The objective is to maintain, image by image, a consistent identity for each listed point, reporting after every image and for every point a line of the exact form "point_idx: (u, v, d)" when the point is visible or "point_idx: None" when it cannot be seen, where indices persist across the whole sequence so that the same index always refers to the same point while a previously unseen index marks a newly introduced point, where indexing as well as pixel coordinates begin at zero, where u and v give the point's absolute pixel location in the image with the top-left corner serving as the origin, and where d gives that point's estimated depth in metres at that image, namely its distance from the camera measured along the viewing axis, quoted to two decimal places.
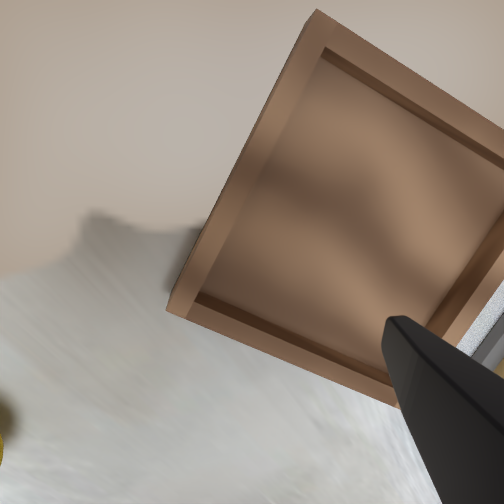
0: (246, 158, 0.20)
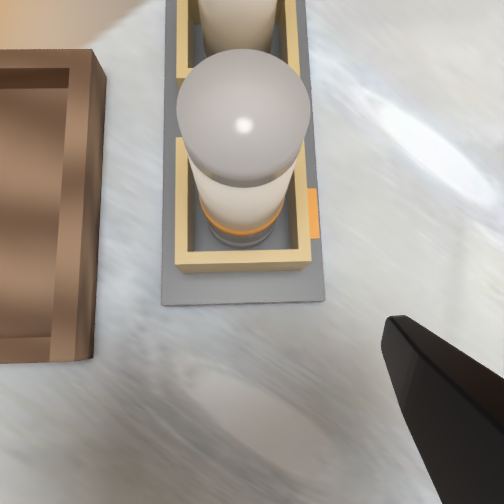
0: None
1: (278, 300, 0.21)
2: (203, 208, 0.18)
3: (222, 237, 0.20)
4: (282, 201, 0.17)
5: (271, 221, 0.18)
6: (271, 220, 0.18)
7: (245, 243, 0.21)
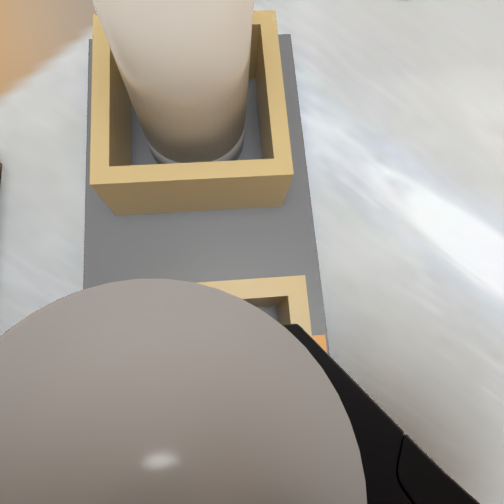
0: None
1: None
2: None
3: None
4: None
5: None
6: None
7: None
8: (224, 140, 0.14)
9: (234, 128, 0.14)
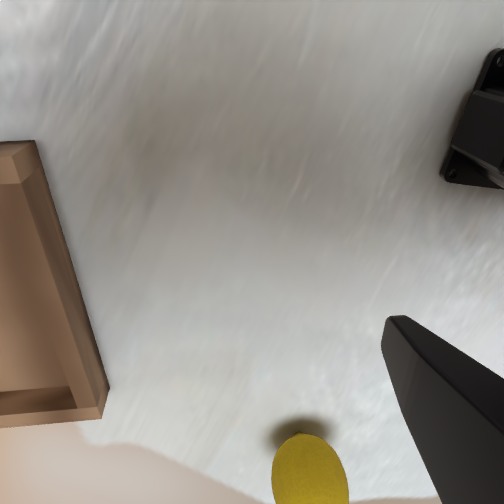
0: None
1: None
2: None
3: None
4: None
5: None
6: None
7: None
8: None
9: None
